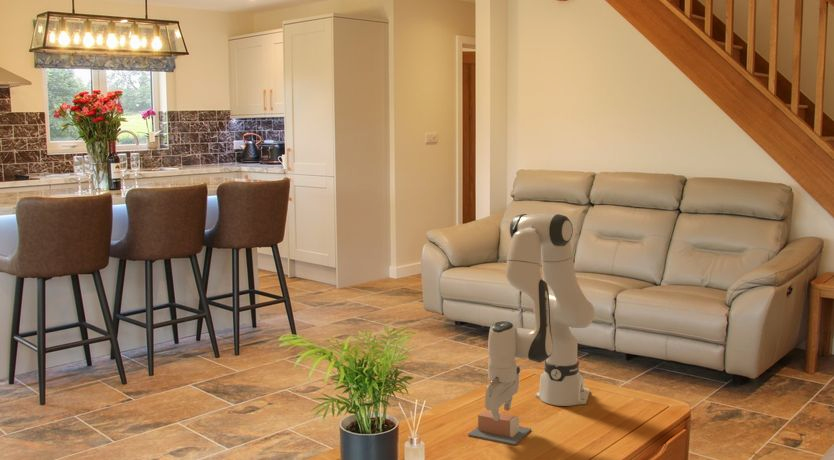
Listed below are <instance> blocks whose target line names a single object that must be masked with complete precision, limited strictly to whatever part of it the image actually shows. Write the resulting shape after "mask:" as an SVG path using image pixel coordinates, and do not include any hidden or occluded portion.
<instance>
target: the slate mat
mask: <svg viewBox="0 0 834 460" xmlns="http://www.w3.org/2000/svg"><path fill="white" fill-rule="evenodd" d="M531 431H532V428H531V427H525V426H520V425H519V432H518V433H517V434H516V435H515V436H514V437H510V436H505V435H500V434H495V433H490V432H485V431H480V430H478V426H477V427H475V428H474V429H473V430H471V431H470V432H469V433H468V434H467V436H468V437H472V438H476V439H482V440H486V441H490V442H497V443H502V444H505V445H506V444H507V445H511V446H517V445H518V443H520V442H521V441H522V440H523V439H524V438H525V437H526V436H527V435H528V434H529V433H530V432H531Z"/></svg>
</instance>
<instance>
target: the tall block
mask: <svg viewBox="0 0 834 460" xmlns="http://www.w3.org/2000/svg"><path fill="white" fill-rule="evenodd" d="M499 414H500V419H499V420H498V421H495V420H493V414H492V412H491V410H486V409H485V410H482V412H480V413H479V414H478V415H477V417H478V418H477V427H478V430H480V431H485V432H490V433H495V434H500V435H505V436H510V437H514V436H515V435H516V434H517V433H518V432H519V426H520V424H519V423H520V416H515V415H511V414H506V413H502V412H499Z"/></svg>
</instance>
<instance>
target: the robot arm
mask: <svg viewBox="0 0 834 460" xmlns="http://www.w3.org/2000/svg"><path fill="white" fill-rule="evenodd" d="M573 230H574V228H573V222H572V221H571V220H570V218H569V217H568V216H566V215H563V214H559V213H558V214H553V213H545V212H544V213H541V212H540V213H530V214H527V213H523V214H519V215H516V216H515V217H513V219H512V220H511V222H510V225H509V235H510V238H511V240H510V244H509V247H508V252H507V257H506V265H505V276H506V279H507V281H508V283H509V285H511V286H512V287H513V288H515V289H516V290H518V291H519V292H520V293H521V292H522V293H524V294H525V295H527V296H528V297H529V298H530V299H531V300H532V302H531V303H532V311H533V313H534V319H535V322H534V323H535V326H534V329H530V328H525V327H524V328H522V327H519V326H518V327H517V326H514V324H513V323H512V322H510V321H504V320H502V321H501V320H500V321H497V322H495V323H492V324H491V325H490V328H489V330H488V331H489V332H488V337H487V338H488V339H487V341H488V342H487V352H488V362H487V378H488V380H489V381H490V382H489V384H488V385H487V386H486V389H485V397H484V408H485V410H486V411H490V412H492V414H493V420H495V421H498V420H499V419H500V414H499V413H500V412H499V409H500V408H501V407H502V406H503V409H504V411H507V412H509V411H510V410H511V409H512V401H513V397H514V396H515V395H516V394H517V393H518V391H519V387H520V386H519V385H520V373H521V366H519V365H517V362H516V358H517V359H525V360H529V361H532V362H537V363H539V364H540V363H543V362H544V363H543V364H544V365H543V368H544V371H543V372H542V374H540V376H539V377H540V378H539V390H538V391H537V392H535V394H534V395H535V397H537V398H538V399H540V401H542V402H543V403H545V404H548V405H552V406H558V407H559V406H561V407H564V406H565V407H569V406H576V405H586V404H587V402H588V400H589V399H588V398H589V395H590V388H588V387H585V386H584V381H585V379H584V376H583V375H581V373H580V372H579V371H580V369H579V368H580V362H581V361H580V359H578V340H577V339H576V337H575V336H574V335H573V333H572V331H571V329H572V328H573V329H585V328H587V327H590V325H591V324H592V322H593V321H594V319H595V307H594V305H593V303H591V301H589V300H588V298H587V297H586V296H585V294H584V292H583V291H582V289H581V287H580V285H579V281H578V280H577V276H576V271H575V270H576V269H575V263H574V255H573V248H572V243H571V239H572V237H573V233H574V231H573ZM541 270H542V273H541ZM549 288H550V290H549ZM570 328H571V329H570Z"/></svg>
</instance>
